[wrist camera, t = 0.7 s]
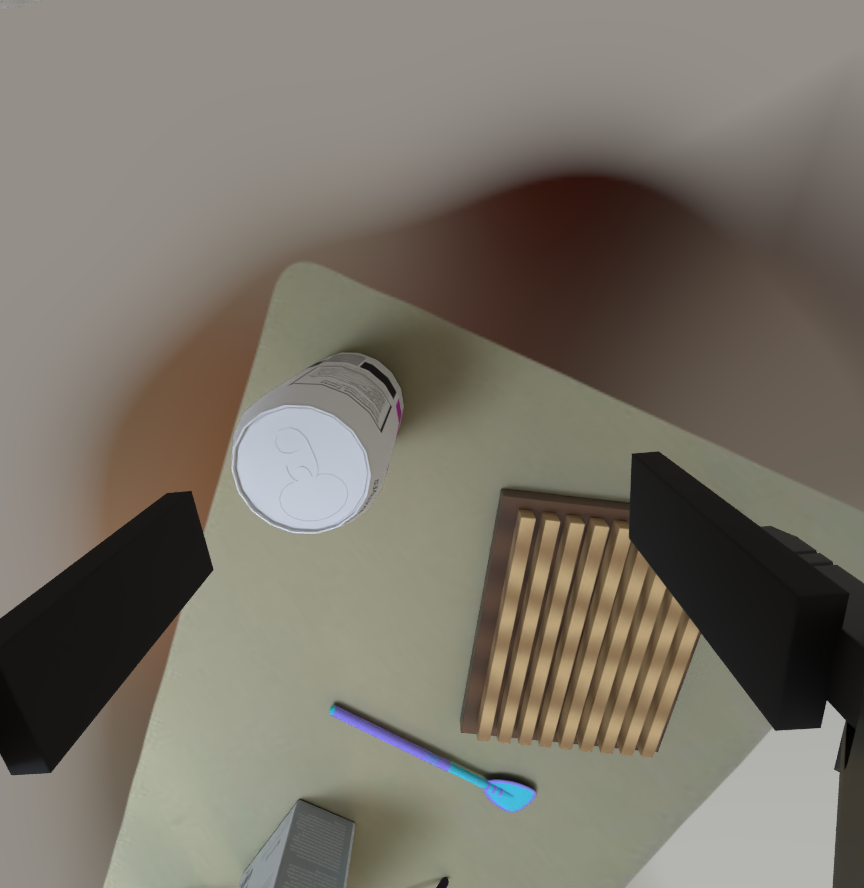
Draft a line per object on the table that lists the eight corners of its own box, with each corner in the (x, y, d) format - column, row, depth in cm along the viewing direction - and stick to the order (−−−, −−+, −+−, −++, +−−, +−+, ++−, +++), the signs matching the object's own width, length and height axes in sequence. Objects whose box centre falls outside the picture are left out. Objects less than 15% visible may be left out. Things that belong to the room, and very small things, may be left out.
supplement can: (418, 433, 38) (405, 519, 24) (325, 462, 39) (260, 561, 25) (383, 337, 36) (348, 369, 22) (285, 370, 37) (189, 422, 23)
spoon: (542, 788, 51) (544, 799, 50) (522, 810, 52) (524, 822, 51) (334, 698, 47) (331, 708, 46) (317, 725, 48) (314, 735, 47)
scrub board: (501, 488, 40) (505, 504, 37) (730, 514, 40) (753, 531, 38) (460, 719, 48) (461, 746, 45) (651, 738, 49) (664, 766, 46)
